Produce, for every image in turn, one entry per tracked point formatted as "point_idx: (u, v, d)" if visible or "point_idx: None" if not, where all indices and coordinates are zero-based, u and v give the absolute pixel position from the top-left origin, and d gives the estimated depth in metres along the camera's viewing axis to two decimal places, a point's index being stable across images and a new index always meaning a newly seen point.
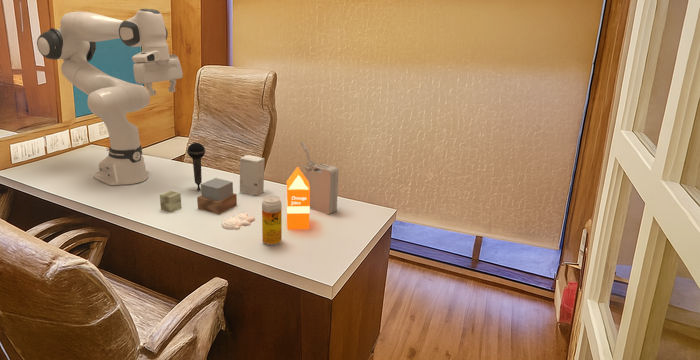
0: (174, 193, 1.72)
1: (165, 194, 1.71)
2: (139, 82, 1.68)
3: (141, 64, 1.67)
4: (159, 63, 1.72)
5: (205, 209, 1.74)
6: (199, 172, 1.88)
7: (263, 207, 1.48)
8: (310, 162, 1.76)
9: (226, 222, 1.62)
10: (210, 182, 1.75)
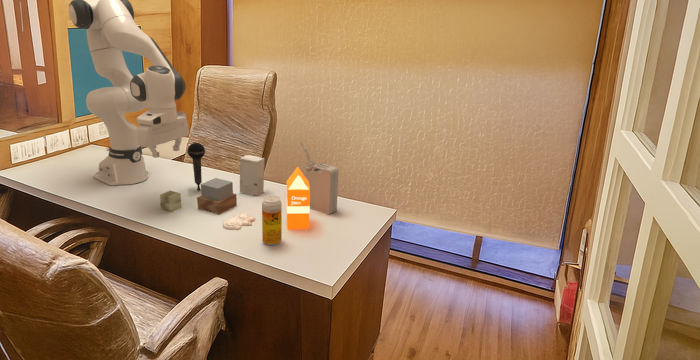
0: (174, 193, 1.72)
1: (165, 194, 1.71)
2: (142, 146, 1.57)
3: (146, 128, 1.55)
4: (165, 124, 1.61)
5: (205, 209, 1.74)
6: (199, 172, 1.88)
7: (263, 207, 1.48)
8: (310, 162, 1.76)
9: (227, 222, 1.62)
10: (210, 182, 1.75)
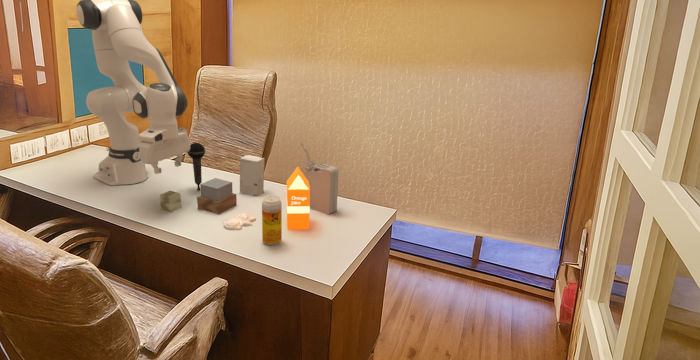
0: (174, 193, 1.72)
1: (165, 194, 1.71)
2: (144, 162, 1.59)
3: (148, 144, 1.57)
4: (167, 141, 1.62)
5: (205, 209, 1.74)
6: (199, 172, 1.88)
7: (263, 207, 1.48)
8: (310, 162, 1.76)
9: (228, 223, 1.61)
10: (209, 182, 1.74)
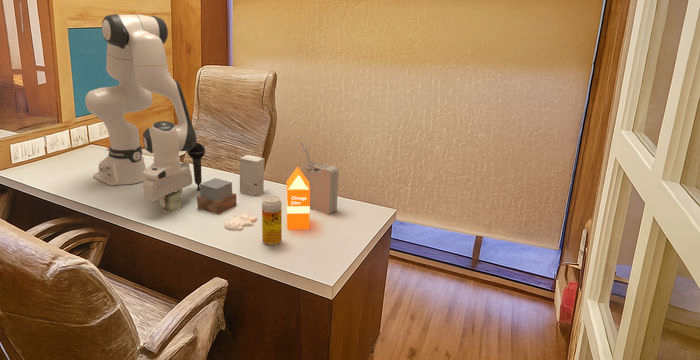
0: (174, 193, 1.72)
1: None
2: (148, 199, 1.63)
3: (151, 182, 1.61)
4: (170, 177, 1.67)
5: (205, 209, 1.74)
6: (199, 172, 1.88)
7: (263, 207, 1.48)
8: (310, 162, 1.76)
9: (229, 223, 1.61)
10: (209, 182, 1.74)
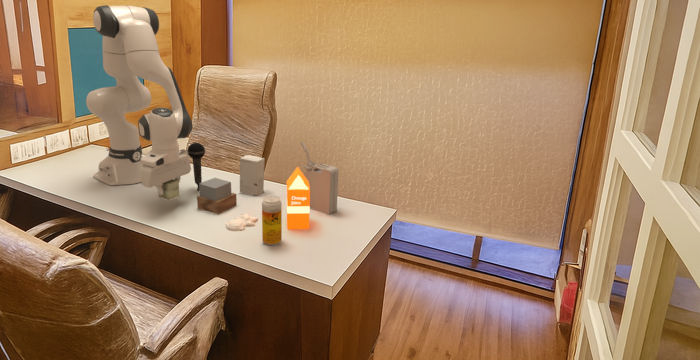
0: (172, 181, 1.71)
1: None
2: (146, 186, 1.62)
3: (149, 169, 1.60)
4: (168, 164, 1.66)
5: (205, 209, 1.74)
6: (199, 172, 1.88)
7: (263, 207, 1.48)
8: (310, 162, 1.76)
9: (231, 223, 1.61)
10: (208, 182, 1.75)
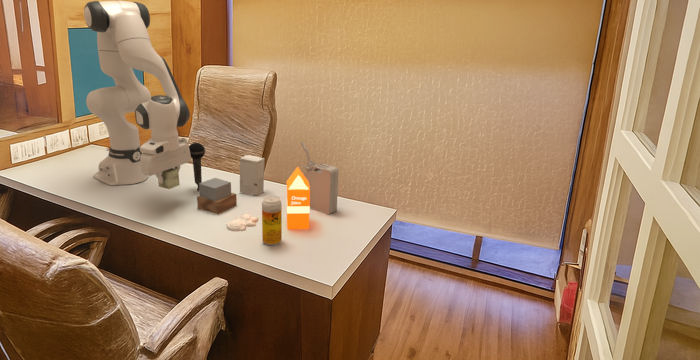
0: (172, 170, 1.69)
1: None
2: (145, 174, 1.60)
3: (149, 156, 1.58)
4: (168, 153, 1.64)
5: (205, 209, 1.74)
6: (199, 172, 1.88)
7: (263, 207, 1.48)
8: (310, 162, 1.76)
9: (231, 224, 1.61)
10: (208, 182, 1.75)
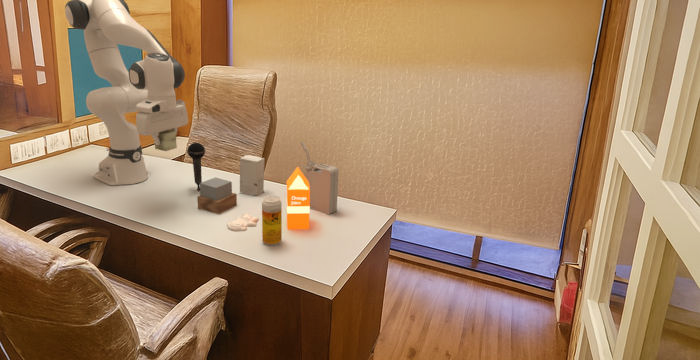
0: (169, 131, 1.65)
1: (159, 132, 1.64)
2: (141, 133, 1.55)
3: (145, 115, 1.53)
4: (164, 113, 1.59)
5: (205, 209, 1.74)
6: (199, 172, 1.88)
7: (263, 207, 1.48)
8: (310, 162, 1.76)
9: (232, 224, 1.61)
10: (209, 181, 1.75)
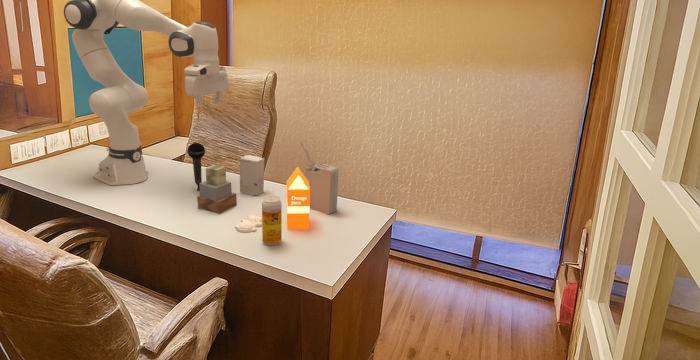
0: (220, 167, 1.73)
1: (211, 167, 1.72)
2: (189, 94, 1.70)
3: (193, 77, 1.69)
4: (209, 76, 1.74)
5: (205, 209, 1.74)
6: (199, 172, 1.88)
7: (263, 207, 1.48)
8: (310, 162, 1.76)
9: (242, 226, 1.60)
10: None
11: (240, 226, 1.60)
